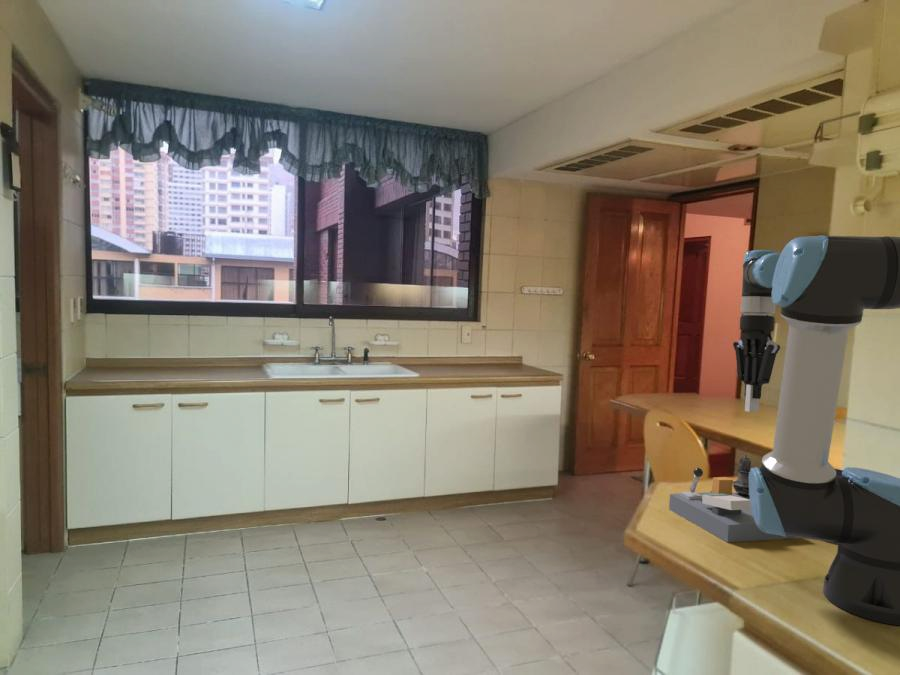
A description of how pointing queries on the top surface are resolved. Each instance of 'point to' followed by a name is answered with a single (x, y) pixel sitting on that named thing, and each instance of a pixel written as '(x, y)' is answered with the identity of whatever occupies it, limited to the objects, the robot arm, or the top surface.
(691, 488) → the toggle
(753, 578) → the top surface
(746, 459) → the chess piece
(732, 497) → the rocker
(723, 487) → the slider
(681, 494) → the panel
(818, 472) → the robot arm
